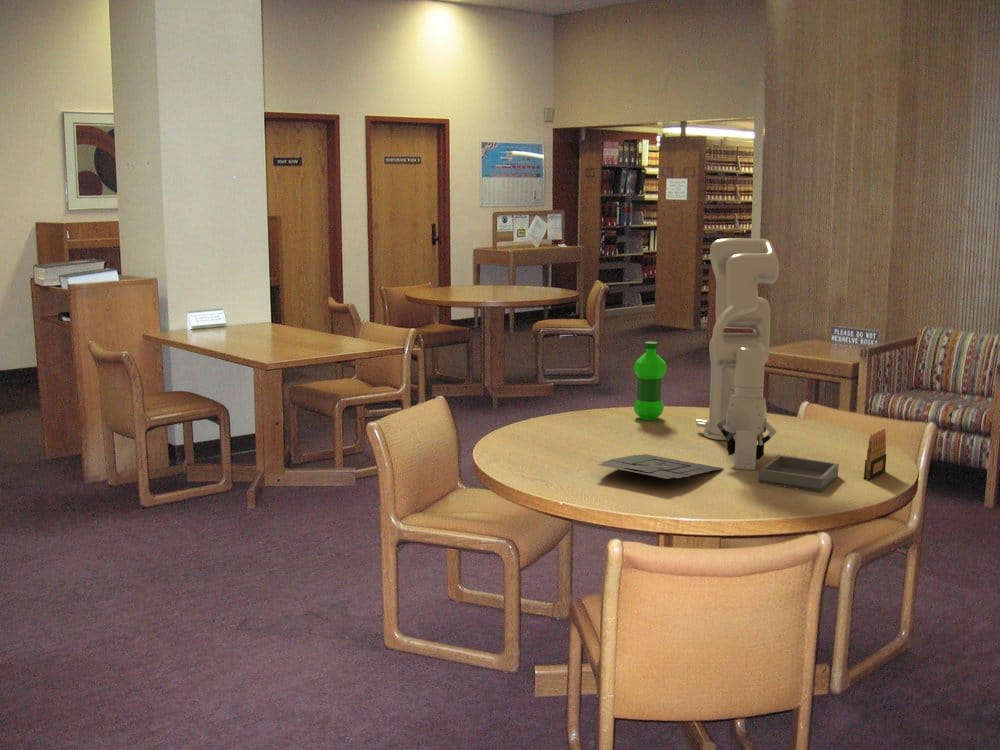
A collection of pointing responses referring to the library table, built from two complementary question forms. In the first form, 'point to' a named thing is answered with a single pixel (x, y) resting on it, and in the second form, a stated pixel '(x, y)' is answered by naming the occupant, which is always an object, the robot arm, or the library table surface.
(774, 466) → the tray
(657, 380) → the plastic bottle
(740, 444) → the small box
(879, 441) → the ammunition clip
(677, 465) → the dark grey grooved panel
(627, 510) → the library table surface
